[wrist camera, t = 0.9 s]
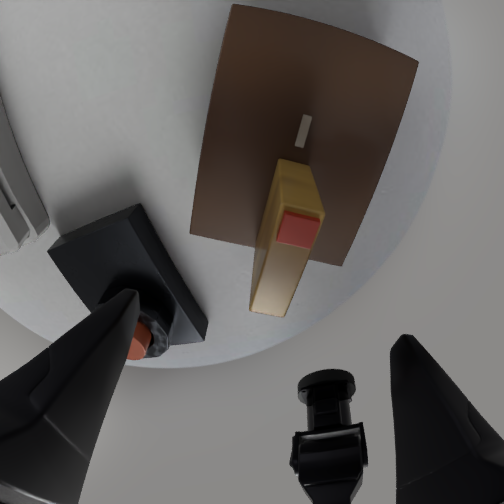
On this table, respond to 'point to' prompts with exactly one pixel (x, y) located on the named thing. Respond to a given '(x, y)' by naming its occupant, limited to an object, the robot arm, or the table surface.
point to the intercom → (17, 196)
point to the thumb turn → (285, 238)
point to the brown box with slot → (297, 124)
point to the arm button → (139, 342)
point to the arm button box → (131, 275)
